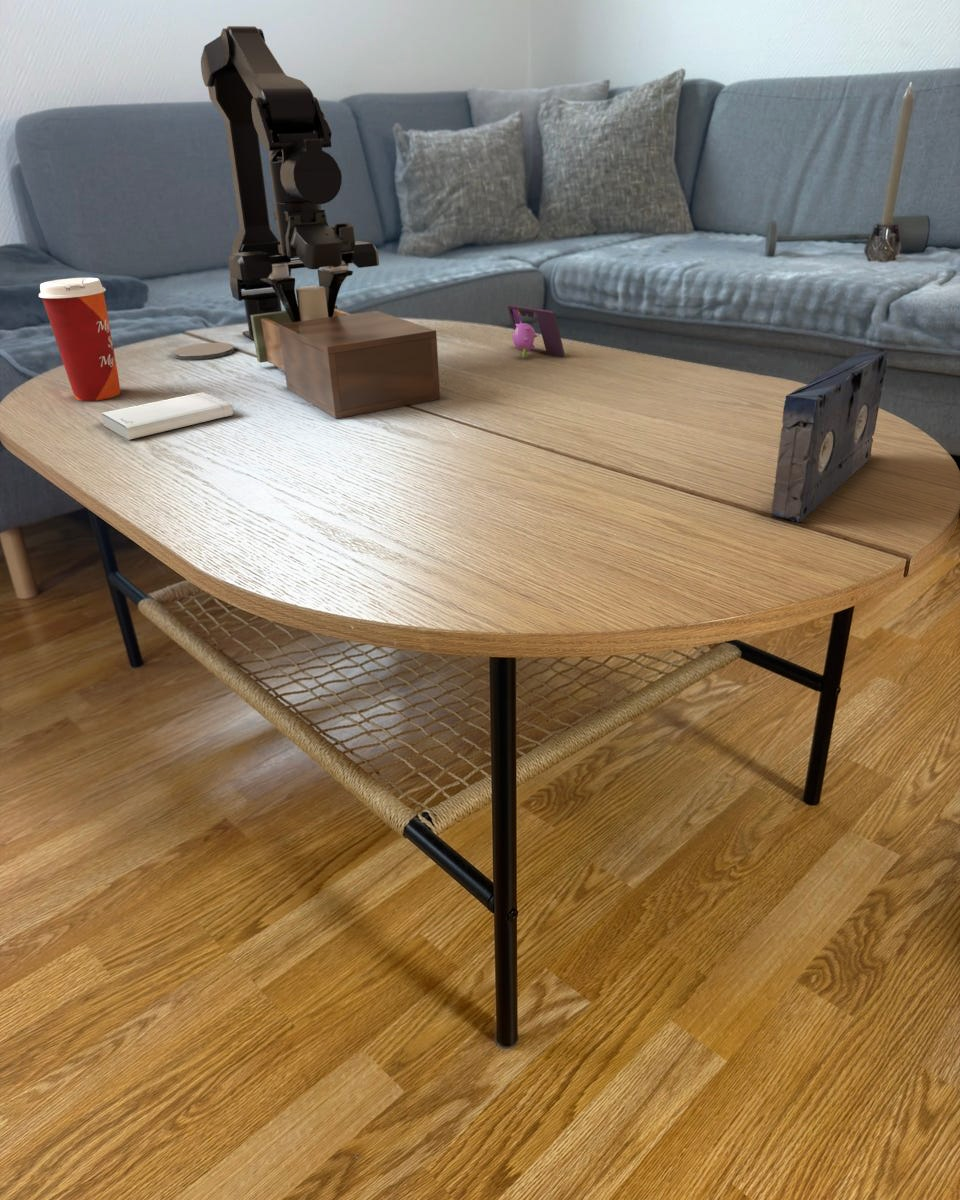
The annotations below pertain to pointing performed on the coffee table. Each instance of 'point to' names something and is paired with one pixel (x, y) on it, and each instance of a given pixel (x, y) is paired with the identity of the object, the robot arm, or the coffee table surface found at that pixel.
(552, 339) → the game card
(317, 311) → the candle
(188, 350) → the coaster
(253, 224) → the robot arm
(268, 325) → the drawer
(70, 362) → the paper cup
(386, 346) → the cabinet
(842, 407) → the vhs cassette tape
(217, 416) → the hard drive
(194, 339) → the coffee table surface
